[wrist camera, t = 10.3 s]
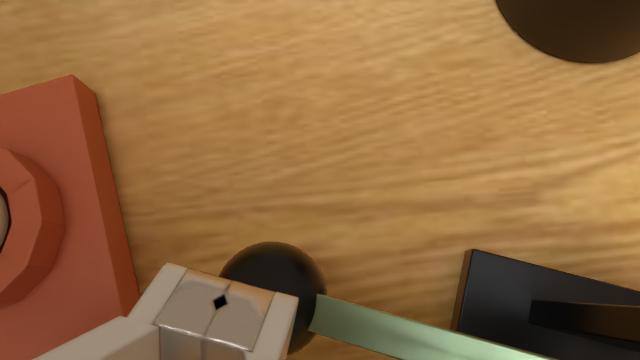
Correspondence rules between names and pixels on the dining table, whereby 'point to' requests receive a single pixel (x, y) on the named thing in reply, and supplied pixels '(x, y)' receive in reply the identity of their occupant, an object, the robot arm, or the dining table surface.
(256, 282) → the green lever handle
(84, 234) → the red button base
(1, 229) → the button
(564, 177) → the dining table surface
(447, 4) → the dining table surface
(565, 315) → the ball handle lever stand
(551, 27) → the mug
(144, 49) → the dining table surface
